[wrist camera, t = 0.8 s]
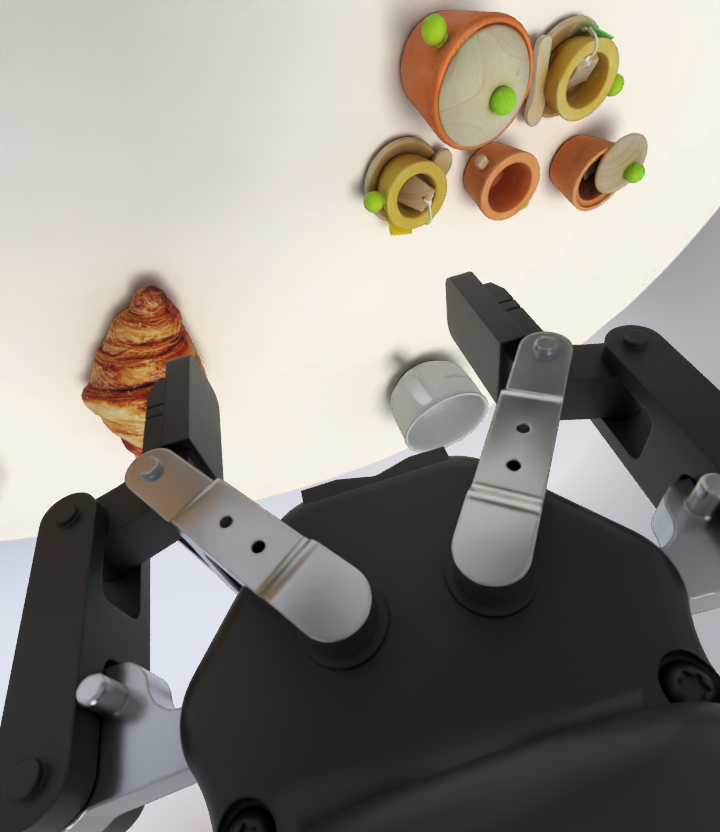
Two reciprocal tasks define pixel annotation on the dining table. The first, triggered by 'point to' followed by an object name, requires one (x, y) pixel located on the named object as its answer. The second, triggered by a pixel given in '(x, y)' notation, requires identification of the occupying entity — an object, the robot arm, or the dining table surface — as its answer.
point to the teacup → (437, 405)
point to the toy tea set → (501, 117)
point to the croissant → (135, 363)
